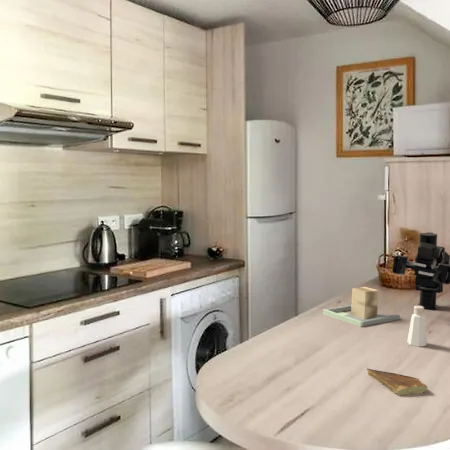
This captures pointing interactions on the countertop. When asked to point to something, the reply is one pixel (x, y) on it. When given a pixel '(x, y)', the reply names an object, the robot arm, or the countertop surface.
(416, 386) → the shard
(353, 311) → the block
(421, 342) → the salt shaker
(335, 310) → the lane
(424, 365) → the countertop surface
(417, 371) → the countertop surface
